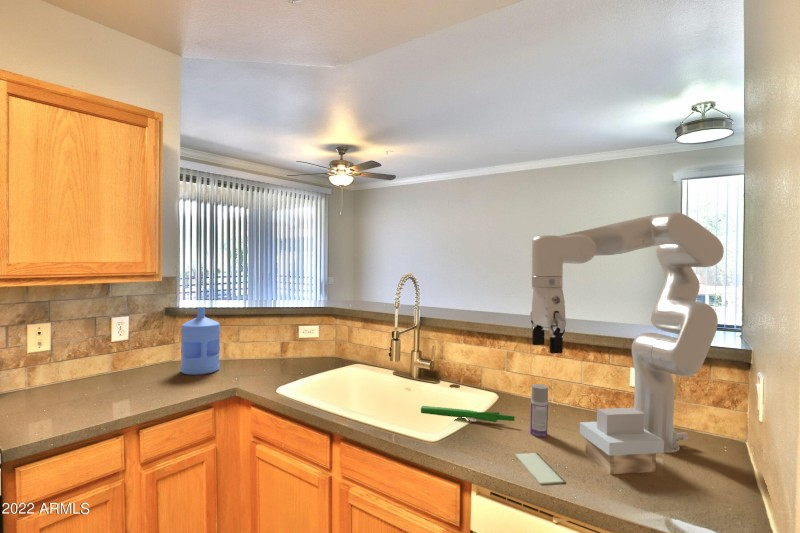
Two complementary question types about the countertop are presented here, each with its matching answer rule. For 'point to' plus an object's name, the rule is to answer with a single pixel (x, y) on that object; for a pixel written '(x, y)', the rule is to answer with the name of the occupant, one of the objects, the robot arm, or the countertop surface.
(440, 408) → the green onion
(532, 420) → the container
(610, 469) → the box
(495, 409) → the countertop surface
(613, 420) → the lid
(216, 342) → the water jug
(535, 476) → the mat
